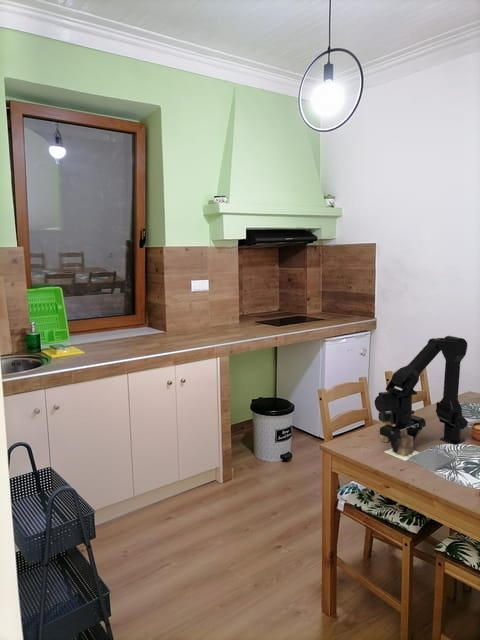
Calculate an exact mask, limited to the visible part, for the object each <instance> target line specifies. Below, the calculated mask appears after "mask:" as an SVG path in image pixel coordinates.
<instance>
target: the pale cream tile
mask: <svg viewBox="0 0 480 640" xmlns="http://www.w3.org/2000/svg"><path fill="white" fill-rule="evenodd" d="M420 452H421V451H417V450H415V449H413V453H411V454H409V455H407V456H405V457H404V456H401V455H399V454H396V453H394V452H392V447H391V448H389V449H387V450H384V453H386V454H388V455H390V456H393V457H396V458H398V459H399V460H402V461H405V462H406V461H409V457H411V456H414V455H416V454H418V453H420Z"/></svg>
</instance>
